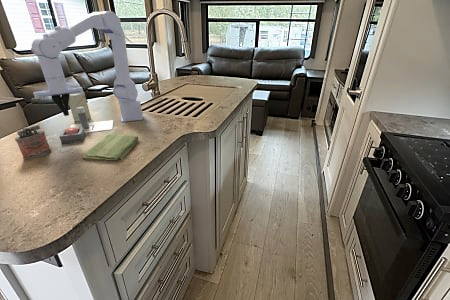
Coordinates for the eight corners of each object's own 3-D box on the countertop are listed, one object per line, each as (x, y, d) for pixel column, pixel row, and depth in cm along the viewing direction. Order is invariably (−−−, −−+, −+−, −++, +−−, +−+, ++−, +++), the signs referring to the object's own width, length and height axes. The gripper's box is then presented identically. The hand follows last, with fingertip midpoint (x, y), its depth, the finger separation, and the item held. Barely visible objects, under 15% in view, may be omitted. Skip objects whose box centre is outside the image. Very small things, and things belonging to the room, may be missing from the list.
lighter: (26, 161, 76) (14, 132, 72) (21, 159, 78) (9, 130, 73) (53, 151, 82) (43, 124, 78) (48, 149, 84) (38, 122, 80)
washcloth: (81, 162, 77) (78, 153, 75) (109, 139, 93) (107, 132, 91) (120, 163, 76) (118, 154, 74) (142, 140, 92) (140, 133, 90)
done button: (79, 132, 94) (77, 126, 93) (78, 136, 90) (76, 130, 89) (68, 134, 93) (66, 128, 91) (65, 137, 89) (63, 131, 88)
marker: (91, 127, 102) (85, 106, 98) (86, 129, 100) (80, 108, 96) (85, 126, 103) (79, 106, 99) (80, 129, 100) (74, 108, 96)
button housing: (85, 134, 96) (83, 127, 95) (83, 141, 90) (80, 133, 89) (65, 136, 94) (63, 129, 93) (61, 143, 88) (59, 136, 87)
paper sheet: (113, 120, 111) (113, 119, 111) (112, 129, 101) (112, 128, 101) (71, 125, 105) (71, 124, 105) (66, 135, 95) (66, 134, 95)
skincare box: (82, 122, 109) (74, 95, 104) (73, 121, 110) (65, 95, 104) (91, 117, 115) (84, 92, 109) (83, 117, 115) (76, 91, 110)
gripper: (78, 73, 88) (88, 109, 94) (30, 77, 82) (44, 115, 88) (79, 76, 83) (89, 114, 89) (27, 80, 76) (42, 120, 82)
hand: (66, 115), depth 88 cm, fingers closed
